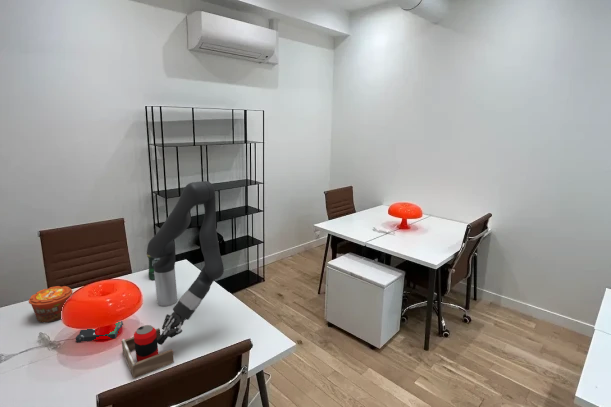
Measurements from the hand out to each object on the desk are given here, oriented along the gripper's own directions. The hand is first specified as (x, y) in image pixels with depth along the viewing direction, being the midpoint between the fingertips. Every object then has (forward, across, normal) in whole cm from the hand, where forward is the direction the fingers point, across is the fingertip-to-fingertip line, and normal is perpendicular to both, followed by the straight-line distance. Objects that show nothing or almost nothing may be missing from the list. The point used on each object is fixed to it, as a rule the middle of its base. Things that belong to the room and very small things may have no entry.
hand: (158, 343), depth 133 cm
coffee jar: (-10, -67, +16) cm, 70 cm away
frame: (+6, 0, 0) cm, 6 cm away
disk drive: (+15, -28, -8) cm, 33 cm away
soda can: (+6, 0, 0) cm, 6 cm away
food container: (+24, -56, -18) cm, 63 cm away
